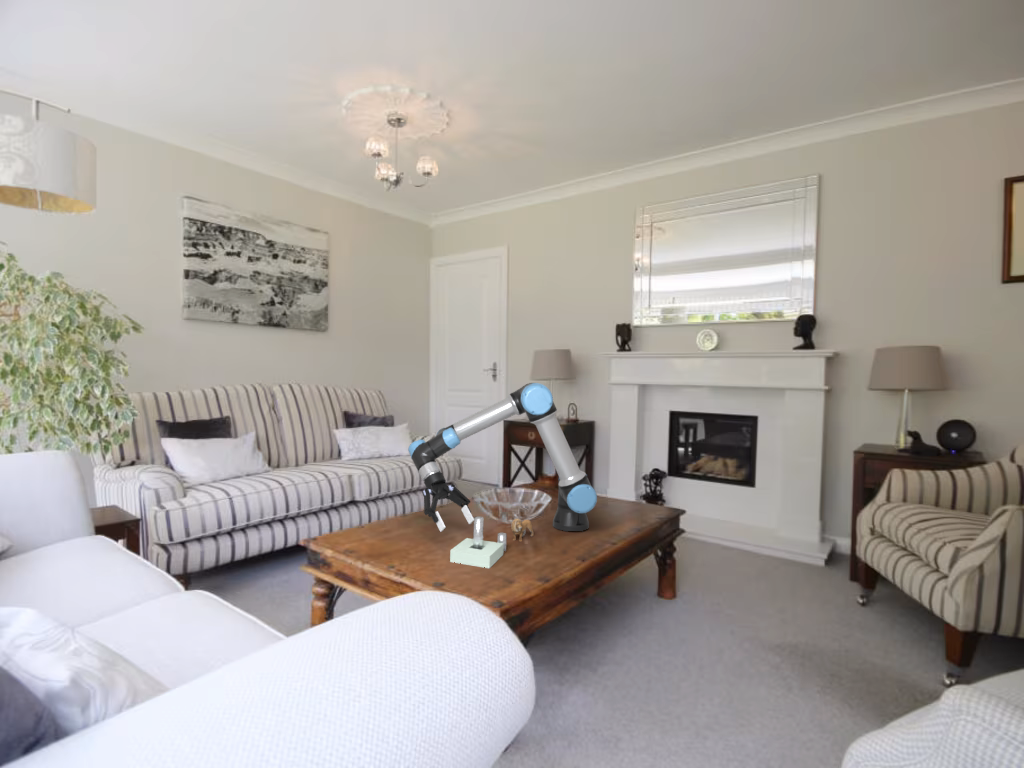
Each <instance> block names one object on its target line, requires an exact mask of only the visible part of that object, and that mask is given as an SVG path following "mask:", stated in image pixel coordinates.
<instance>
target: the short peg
mask: <svg viewBox="0 0 1024 768" xmlns="http://www.w3.org/2000/svg"><path fill="white" fill-rule="evenodd" d="M507 537H508V536H507V533H506V532H497V543H504V548H503V553H505V552H506V551H507V539H508V538H507ZM504 551H505V552H504Z"/></svg>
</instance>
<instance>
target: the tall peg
mask: <svg viewBox="0 0 1024 768" xmlns="http://www.w3.org/2000/svg"><path fill="white" fill-rule="evenodd" d="M473 518H474V521H473V538H472V539H473V548H474V549H480V550H482V545H483V540H484V520H485V519H484V516H474V517H473Z"/></svg>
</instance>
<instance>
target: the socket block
mask: <svg viewBox="0 0 1024 768" xmlns="http://www.w3.org/2000/svg"><path fill="white" fill-rule="evenodd" d="M503 548H504V543H497V542H496V541H489V540H484V539H483V545H482V550H480V549H474V548H473V538H468V537H466V538H465V539H463V540H462V541H461V542H459V543H458V544H457V545H455V546H454V547H453V548H451V549H450V552H449V553H450V555H449V559H450V561H449V562H450V563H454V562H455V563H456V564H460V563H461V565H465V566H466V565H467V566H473V567H478V568H484V567H485V568H484V569H490V568H491V567H493V565H494V564H496V563H497V562H498V561H499V559H500V558H502V557H503V556H504V552H503ZM455 563H454V564H455Z"/></svg>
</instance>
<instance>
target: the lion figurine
mask: <svg viewBox="0 0 1024 768" xmlns="http://www.w3.org/2000/svg"><path fill="white" fill-rule="evenodd" d="M532 525H533V524H532V521H531V520H530V519H524V520H523V521H522V520H521V519H520V518H514V519H513V520H512V521H511V526H510V527H511V529H510V530H511V531H512V534H513V538H512V541H516V540H517V535H519V539H518V542H523V537H525V534H526V533H527V529H528V530H529V534H530V537H534V529H533V526H532Z"/></svg>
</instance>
